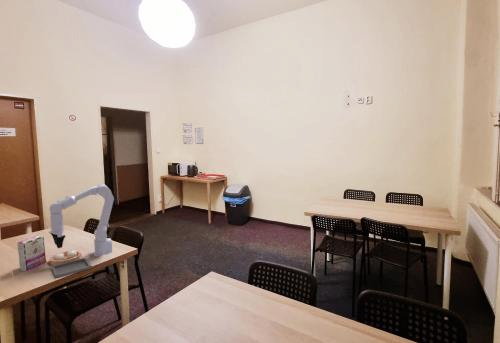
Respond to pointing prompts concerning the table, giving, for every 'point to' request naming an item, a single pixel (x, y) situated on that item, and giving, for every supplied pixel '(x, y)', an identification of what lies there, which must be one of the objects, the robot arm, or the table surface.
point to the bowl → (65, 258)
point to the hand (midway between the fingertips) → (58, 245)
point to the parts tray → (71, 267)
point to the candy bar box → (31, 253)
